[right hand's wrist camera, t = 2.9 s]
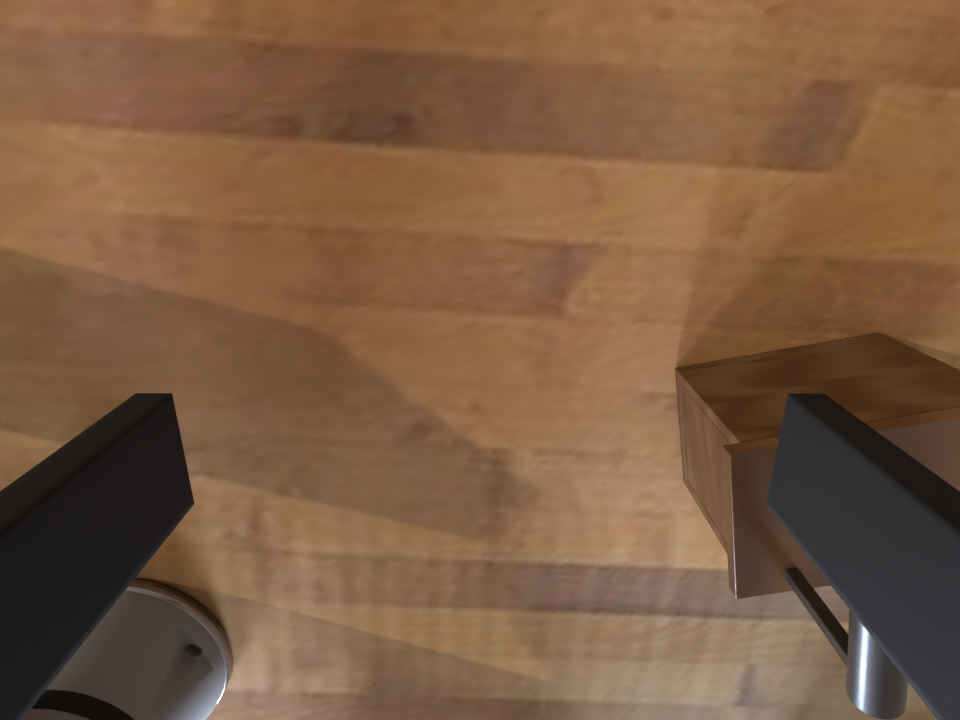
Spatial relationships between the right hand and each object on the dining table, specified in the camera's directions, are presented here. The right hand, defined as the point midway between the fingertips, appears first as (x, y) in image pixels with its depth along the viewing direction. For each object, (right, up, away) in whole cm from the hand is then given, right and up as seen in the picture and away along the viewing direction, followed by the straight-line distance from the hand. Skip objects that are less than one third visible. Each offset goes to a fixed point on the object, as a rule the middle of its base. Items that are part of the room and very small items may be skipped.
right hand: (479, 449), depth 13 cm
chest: (+21, -2, +28) cm, 35 cm away
